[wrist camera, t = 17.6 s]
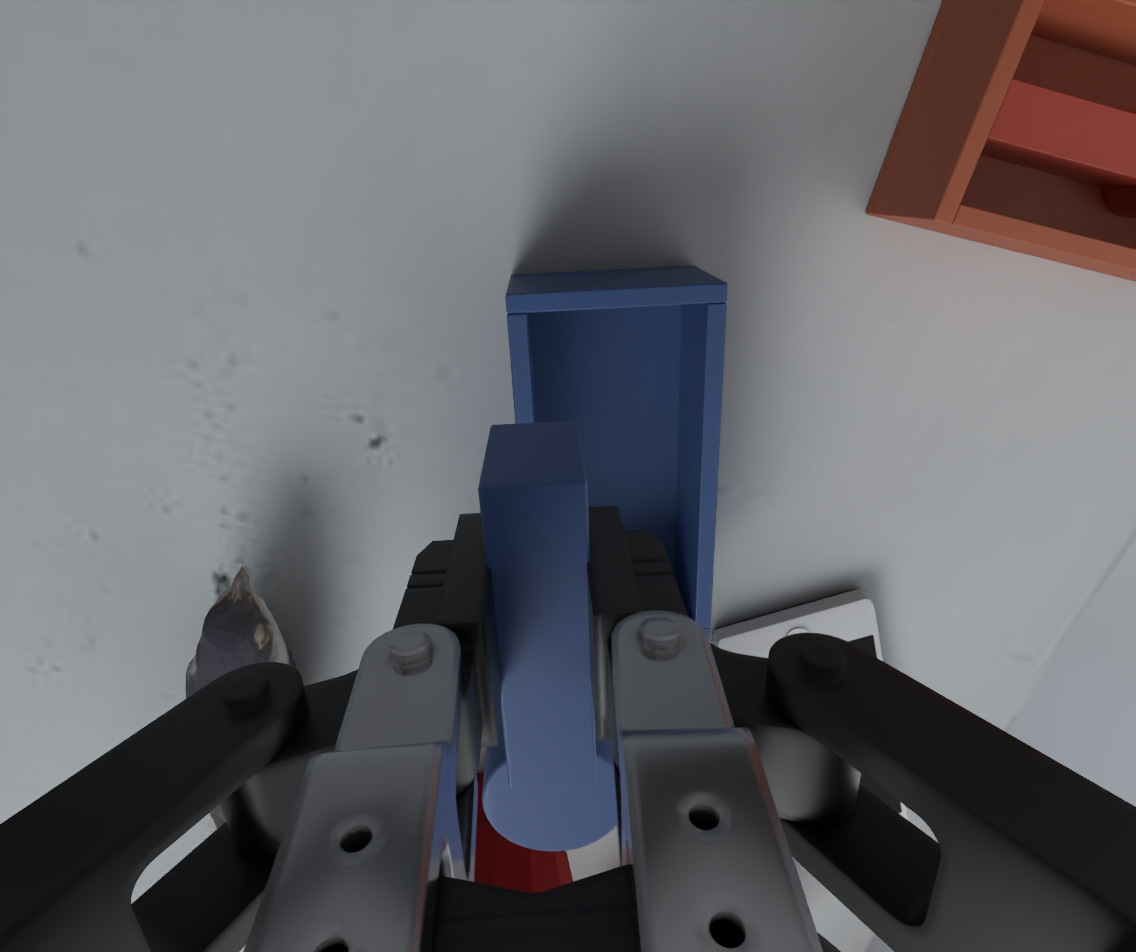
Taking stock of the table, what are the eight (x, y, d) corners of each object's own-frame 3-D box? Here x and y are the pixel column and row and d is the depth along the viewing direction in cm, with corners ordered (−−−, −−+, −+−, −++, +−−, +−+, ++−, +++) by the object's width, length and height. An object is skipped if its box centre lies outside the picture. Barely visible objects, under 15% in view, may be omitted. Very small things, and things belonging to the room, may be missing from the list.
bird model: (215, 805, 34) (165, 902, 29) (217, 517, 28) (155, 583, 23) (305, 815, 35) (270, 911, 30) (328, 534, 28) (288, 603, 24)
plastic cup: (613, 730, 33) (651, 1001, 22) (594, 879, 37) (618, 1169, 26) (390, 725, 32) (314, 1002, 21) (396, 878, 37) (336, 1175, 26)
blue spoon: (451, 426, 12) (428, 489, 10) (615, 417, 12) (636, 478, 10) (493, 787, 16) (484, 903, 13) (620, 779, 16) (636, 894, 13)
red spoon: (927, 165, 23) (976, 163, 20) (966, 65, 22) (1024, 50, 19) (1157, 225, 24) (1231, 230, 21) (1205, 133, 23) (1290, 127, 20)
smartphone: (864, 586, 30) (874, 598, 29) (902, 816, 36) (911, 832, 35) (710, 629, 31) (715, 642, 30) (772, 849, 37) (777, 865, 36)
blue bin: (510, 274, 24) (505, 293, 20) (695, 265, 24) (727, 282, 20) (534, 585, 30) (533, 652, 25) (685, 576, 30) (710, 641, 26)
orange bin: (864, 213, 24) (933, 220, 20) (944, -7, 21) (1044, -53, 17) (1183, 293, 26) (1310, 315, 21) (1294, 97, 23) (1462, 78, 19)
